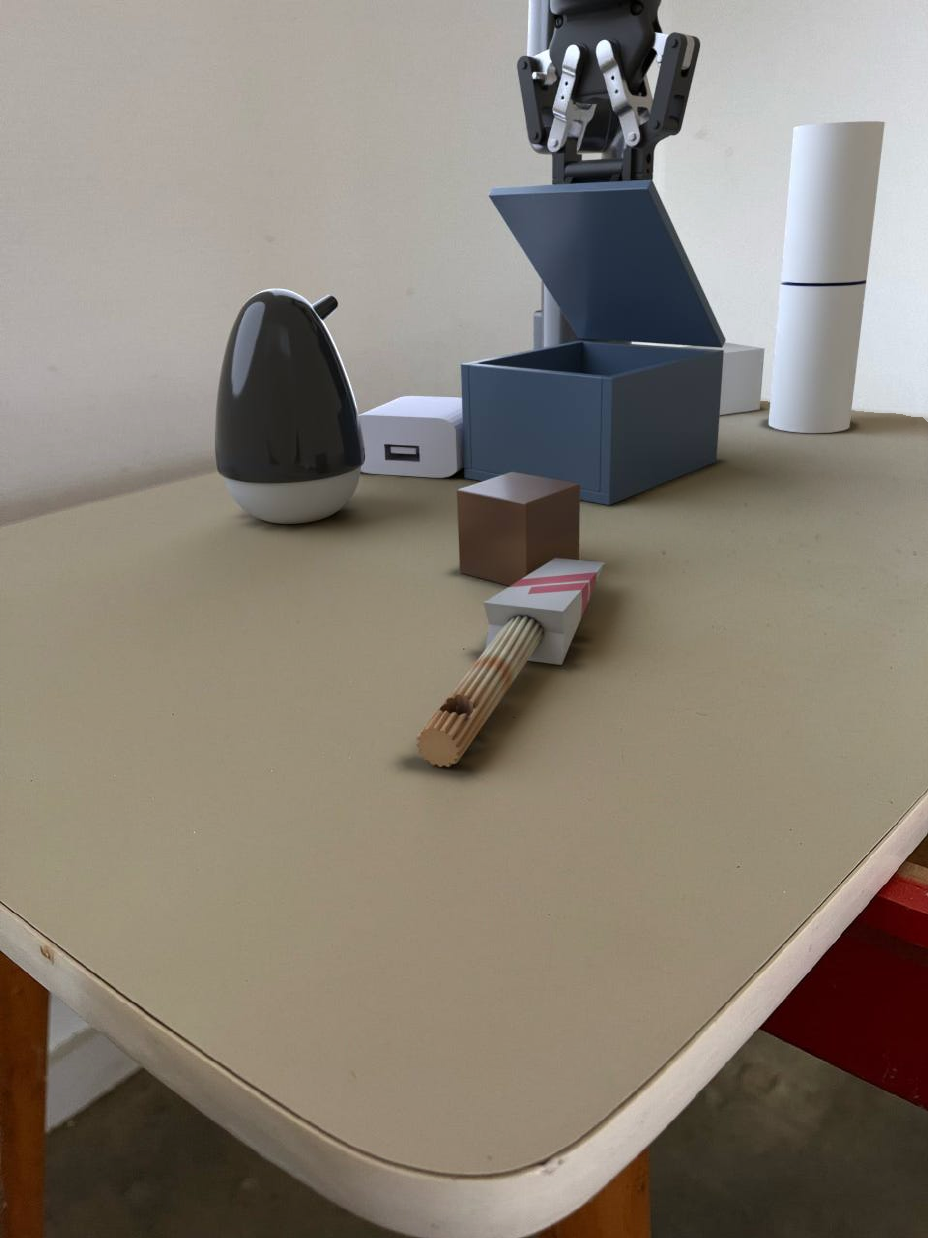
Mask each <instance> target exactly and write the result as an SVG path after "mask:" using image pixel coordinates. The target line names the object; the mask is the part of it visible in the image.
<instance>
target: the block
mask: <svg viewBox="0 0 928 1238" xmlns="http://www.w3.org/2000/svg"><path fill="white" fill-rule="evenodd" d="M580 502H581V500H580V484H578V483H572V482H567V481H561V480H555V479H550V478H544V477H539V476H533V475H527V474H522V473H516V472H510V473H507V474H504V475H501V476H498V477H495V478H492V479H489V480H485V481H479V482H477V483H473V484H470V485H468V486H465V487H461V488H458V489H457V490H456V507H457V530H458V532H457V533H458V535H457V536H458V558H459V562H458V563H459V573H460V574H464V575H468V576H471V577H472V576H473V577H475V578H477V579H478V578H479V579H482V580H485V581H490V582H493V583H498V584H501V585H504V586H508V587H509V586H511V585H513V584H514V583H516V582H518V581H519V580H521V579H522V578H524V577H526V576H527V575H529V574H530V573H532V572H534V571H535V570H537V569H538V568H540V567H542V566H543V565H545V564H546V563H548V562H550V561H551V560H553V559H554V558H560V559H571V560H580V522H581V521H580V514H581V513H580V511H581V510H580V509H581V506H580V504H581V503H580Z"/></svg>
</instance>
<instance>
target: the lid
mask: <svg viewBox="0 0 928 1238" xmlns="http://www.w3.org/2000/svg"><path fill="white" fill-rule="evenodd" d="M622 167H623V158H610V159H601V158H598V159H595V158H594V159H582V160H581V161H570V162H568V163H567V165H566V167H565V171H564V176H565V180H564V182H563V184H556V185H552V184H537V185H520V186H519V185H518V186H499V187H498V186H497V187H492V188H491V189H490V191H489V193H488V198H489V200H490V201H491V203H492V204H493V206H494V207H495V209H496V211H497V212H498V214H499V215H500V217H501V218H502V220H503V222H504V223H505V225H506V227H507V228H508V229H509V231H510V233H511V235H512V236H513V237H514V239H515V240H516V242H517V244H518V245H519V247H520V248H521V250H522V251H523V253H524V255H525V256H526V258H527V260H528V261H529V262H530V264H531V266H532V267H533V269H534V270H535V272H536V273H537V275H538V277H539V278H540V280H542V281H543V283H544V285H545V286H546V288H547V289H548V291H549V292H550V294H551V296H552V297H553V299H554V300H555V302H556V303H557V305H558V307H559V308H560V310H561V311H562V313H563V314H564V316H565V318H566V319H567V321H568V322H569V324H570V325H571V327H572V329H573V330H574V332H575V333H576V335H577V337H578V338H583V339H598V340H613V341H628V342H632V343H645V344H660V345H672V346H673V345H674V346H703V347H718V348H722V347H723V345H724V343H725V342H726V341H727V339H726V336H725V334H724V333H723V331H722V328H721V326H720V324H719V322H718V320H717V317H716V315H715V313H714V311H713V308H712V306H711V304H710V302H709V299H708V298H707V295H706V293H705V291H704V288H703V286H702V284H701V283H700V281H699V278H698V276H697V274H696V272H695V270H694V269H695V268H694V267H693V265H692V262H691V261H690V258H689V257H688V255H687V251H686V250H685V248H684V245H683V244H682V241H681V239H680V237H679V235H678V233H677V230H676V228H675V226H674V224H673V221H672V219H671V217H670V215H669V213H668V211H667V209H666V207H665V203H664V202H663V200H662V198H661V195H660V193H659V191H658V189H657V186H656V185H655V183H654V179H653V180H635V181H622Z"/></svg>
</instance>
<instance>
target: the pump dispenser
mask: <svg viewBox="0 0 928 1238" xmlns="http://www.w3.org/2000/svg"><path fill="white" fill-rule="evenodd" d="M338 308H339V301H338V299H337V297H336V296H334V295H332V294H328V295H326V296H324V297H322V298H321V299H320V300H317V301H315V303H313V304H311V303H310V302H309V301H308V300H307V299H306V298H305V297H303V296H302V295H300V294H298V293H296V292H294V291H292V290H289V289H284V288H269V289H264V290H262V291H259V292H257V293H255V294H254V295H252V296H251V297H250V298H248V300H246V301H245V302H244V304H243V305H242V306H241V308H240V309H239V311H238V312H237V315H236V317H235V320H234V321H233V323H232V326H231V329H230V332H229V335H228V338H227V342H226V345H225V349H224V350H225V351H224V354H223V358H222V363H221V368H220V375H219V380H218V385H217V386H218V387H217V393H216V404H215V418H214V419H215V420H214V421H215V422H214V423H215V424H214V452H215V453H214V455H215V463H216V464H215V465H216V470H217V472H218V473H219V475H220V476H222V477H223V480H224V483H225V487H226V488H227V490H228V492H229V494H230V496H231V498H232V499H233V500H234V501H235V503H236V504H237V505H238V506H239V507H240V508H241V509H242V510H244V512H246V513H247V514H249V515H250V516H252V517H254V518H257V519H258V520H261V521H264V522H268V523H271V524H278V525H279V524H281V525H297V524H298V525H299V524H306V523H312V522H316V521H320V520H323V519H326V518H328V517H330V516H332V515H334V514H335V513H337V512H339V511H340V510H341V509H343V508H344V507H345V506H346V504H348V503H349V501H350V500H351V499H352V497H353V496H354V494H355V492H356V489H357V487H358V484H359V481H360V476H361V466H362V465H363V464H364V462H365V447H364V439H363V434H362V429H361V424H360V419H359V415H360V414H359V411H358V406H357V404H356V399H355V395H354V392H353V389H352V385H351V383H350V382H351V381H350V380H349V377H348V374H347V371H346V369H345V366H344V363H343V360H342V358H341V355H340V352H339V351H338V348H337V346H336V344H335V341H334V339H333V337H332V335H331V333H330V331H329V329H328V327H327V325H326V323H325V322H324V321H325V320H326V319H327V318H329V317H330V316H331V315H332V314H333V313H334V312H335V311H336V310H337V309H338Z"/></svg>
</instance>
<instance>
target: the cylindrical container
mask: <svg viewBox="0 0 928 1238" xmlns="http://www.w3.org/2000/svg"><path fill="white" fill-rule="evenodd" d="M885 125H886V124H885V121H878V120H874V121H872V120H871V121H869V120H867V121H864V120H863V121H861V120H860V121H839V122H823V123H814V124H813V123H812V124H804V125H797V126H793V129H792V130H793V132H792V143H791V155H790V167H789V177H788V178H789V179H788V189H787V201H786V212H785V213H786V214H785V226H784V237H783V248H782V261H781V271H780V272H781V273H780V281H781V283H780V284H779V295H778V296H779V297H778V306H777V307H778V308H777V320H776V329H775V330H776V332H775V342H774V343H775V344H774V354H773V355H774V356H773V367H772V377H771V378H772V380H771V390H770V402H769V412H768V413H769V415H768V426H769V427H771V428H773V429H775V430H778V431H779V430H780V431H785V432H790V433H802V434H829V433H837V432H842V431H846V430H848V429H850V425H851V418H852V417H851V416H852V410H853V409H852V408H853V400H854V391H855V383H856V375H857V365H858V358H859V348H860V340H861V333H862V323H863V314H864V307H865V303H864V302H865V298H866V291H867V289H866V288H867V282H868V281H867V279H868V271H869V264H870V254H871V246H872V238H873V237H872V236H873V230H874V229H873V227H874V220H875V213H876V203H877V192H878V185H879V176H880V169H881V168H880V167H881V158H882V150H883V141H884V133H885V132H884V131H885Z"/></svg>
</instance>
